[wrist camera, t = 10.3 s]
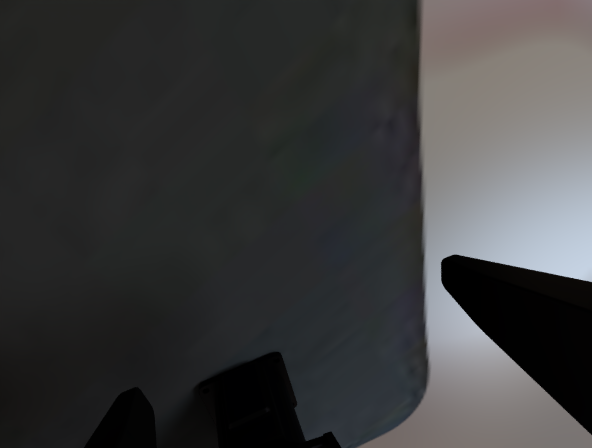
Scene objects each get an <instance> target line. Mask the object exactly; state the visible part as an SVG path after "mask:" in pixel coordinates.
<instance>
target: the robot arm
mask: <svg viewBox="0 0 592 448" xmlns="http://www.w3.org/2000/svg"><path fill="white" fill-rule="evenodd" d="M441 281H442V284H443V286H444V288H445V289H446V290H447V291H448V292H449V294H450V295H451V296H452V297H453V298H454V299H455V300H456V302H457V303H458V304H459V305H460V306H461V308H462V309H463V310H464V311H465V312H466V313H467V314H468V316H469V317H470V318H471V319H472V320H473V321H474V322H475V324H476V325H477V326H478V327H479V328H480V329H481V330H482V331H483V332H484V333H485V334H486V335H487V336H488V337H489V338H490V339H491V340H493V341H494V342H495V343H496V344H497V345H498V346H499V347H500V348H501V349H502V350H503V351H504V352H505V353H506V354H507V355H508V356H509V357H510V358H512V360H514V361H515V362H516V363H517V364H518V365H519V366H520V367H521V368H522V369H523V370H524V371H525V372H526V373H527V374H528V375H529V376H530V377H531V378H533V380H535V381H536V382H537V383H538V384H539V385H540V386H541V387H542V388H543V389H544V390H545V391H546V392H547V393H548V394H549V395H550V396H551V397H552V398H553V399H554V400H556V401H557V402H558V403H559V404H560V405H561V406H562V407H563V408H564V409H565V410H566V411H567V412H568V413H569V414H570V415H571V416H572V417H573V418H574V419H576V421H578V422H579V423H580V424H581V425H582V426H583V427H584V428H585V429H586V430H587V431H588V432H589V433H590V434H591V435H592V282H589V281H583V280H579V279H574V278H569V277H564V276H559V275H554V274H549V273H544V272H539V271H535V270H529V269H525V268H520V267H515V266H510V265H505V264H500V263H495V262H490V261H485V260H480V259H475V258H470V257H465V256H460V255H452V256H449V257H446V258H444V259H443V260H442V262H441ZM276 358H277V359H276ZM274 359H275V360H274ZM206 388H207V389H206ZM199 394H200V396H201V398H202V400H203V402H204V404H205V406H206V407H207V409H208V411H209V413H210V415H211V417H212V419H213V421H214V423H215V424H216V426H217V434H218V444H219V448H341V446H340V445H339V443H338V442H337V440H336V438H335V437H334V435H333V434H332V432H328V433H325V434H323V436H321V437H318V438H315V439H312V440H309V441H306V440H305V437H304V435H303V432H302V429H301V426H300V423H299V420H298V418H297V415H296V412H295V409H294V408H295V407H296V406H297V401H296V398H295V395H294V392H293V389H292V386H291V383H290V380H289V376H288V373H287V370H286V367H285V364H284V361H283V358H282V355H281V353H279V352H274V353H271V354H269V355H267V356H264V357H262V358H260V359H257V360H255V361H252V362H250V363H248V364H245V365H243V366H241V367H238V368H236V369H233V370H231V371H229V372H226V373H224V374H222V375H219V376H217V377H214V378H212V379H210V380H207V381H205V382H203V383H201V384H200V385H199ZM84 448H157V446H156V431H155V417H154V411H153V408H152V406H151V404H150V403H149V401H148V400H147V398H146V397H145V395H144V394H143V392H142V391H141V390H140V389H139V388H138V387H134V388H132V389H129V390H127V391H125V392H122V393H121V394H120V395H119V396H118V397H117V398H116V400H115V401H114V403H113V404H112V406H111V407H110V409H109V410H108V412H107V413H106V415H105V417H104V418H103V420H102V421H101V423H100V424H99V426H98V427H97V429H96V430H95V432H94V433H93V435H92V436H91V438H90V439H89V441H88V442H87V444H86V445H85V447H84Z"/></svg>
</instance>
